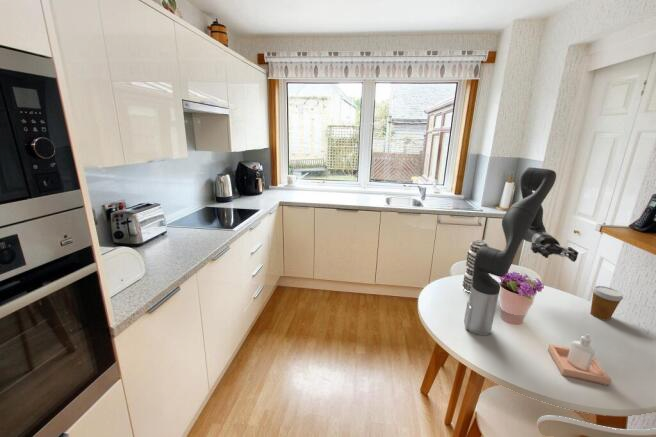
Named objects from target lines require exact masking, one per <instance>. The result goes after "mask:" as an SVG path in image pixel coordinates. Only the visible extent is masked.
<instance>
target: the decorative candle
mask: <svg viewBox="0 0 656 437" xmlns="http://www.w3.org/2000/svg"><path fill="white" fill-rule="evenodd" d="M482 246H487V247H490V245H488V243H487V242H486V241H483V240H473V241H472V242H470V247H469V250H468V251H467V254H466V262H465V263H466V264H465V267H466V269H465V272H464V275H463V276H464V277H463V281H462V286H463V287H464V289H466V290H467V291H470V292H471V288H472V278H473V271H474V263H475V257H476V254H477V251H478V250H479V248H480V247H482Z"/></svg>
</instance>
